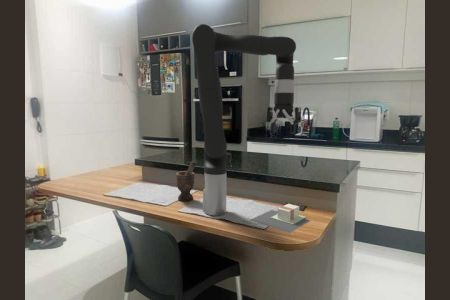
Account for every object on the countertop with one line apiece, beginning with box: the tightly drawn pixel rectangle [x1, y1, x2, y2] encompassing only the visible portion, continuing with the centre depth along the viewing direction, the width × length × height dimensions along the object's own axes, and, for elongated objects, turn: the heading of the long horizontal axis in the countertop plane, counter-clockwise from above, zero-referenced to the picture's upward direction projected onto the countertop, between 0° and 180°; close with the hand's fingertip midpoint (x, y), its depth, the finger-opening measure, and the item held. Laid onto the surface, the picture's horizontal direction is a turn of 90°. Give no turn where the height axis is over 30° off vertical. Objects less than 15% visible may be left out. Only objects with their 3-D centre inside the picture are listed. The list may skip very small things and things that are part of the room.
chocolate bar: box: [282, 201, 306, 212], centre depth 130 cm, size 9×1×18 cm
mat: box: [249, 209, 311, 234], centre depth 118 cm, size 18×18×1 cm
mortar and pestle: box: [175, 160, 197, 202], centre depth 143 cm, size 12×9×20 cm
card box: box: [277, 204, 300, 221], centre depth 120 cm, size 8×5×4 cm, turn 138°
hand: (282, 133), depth 120 cm, fingers open, 8 cm apart
